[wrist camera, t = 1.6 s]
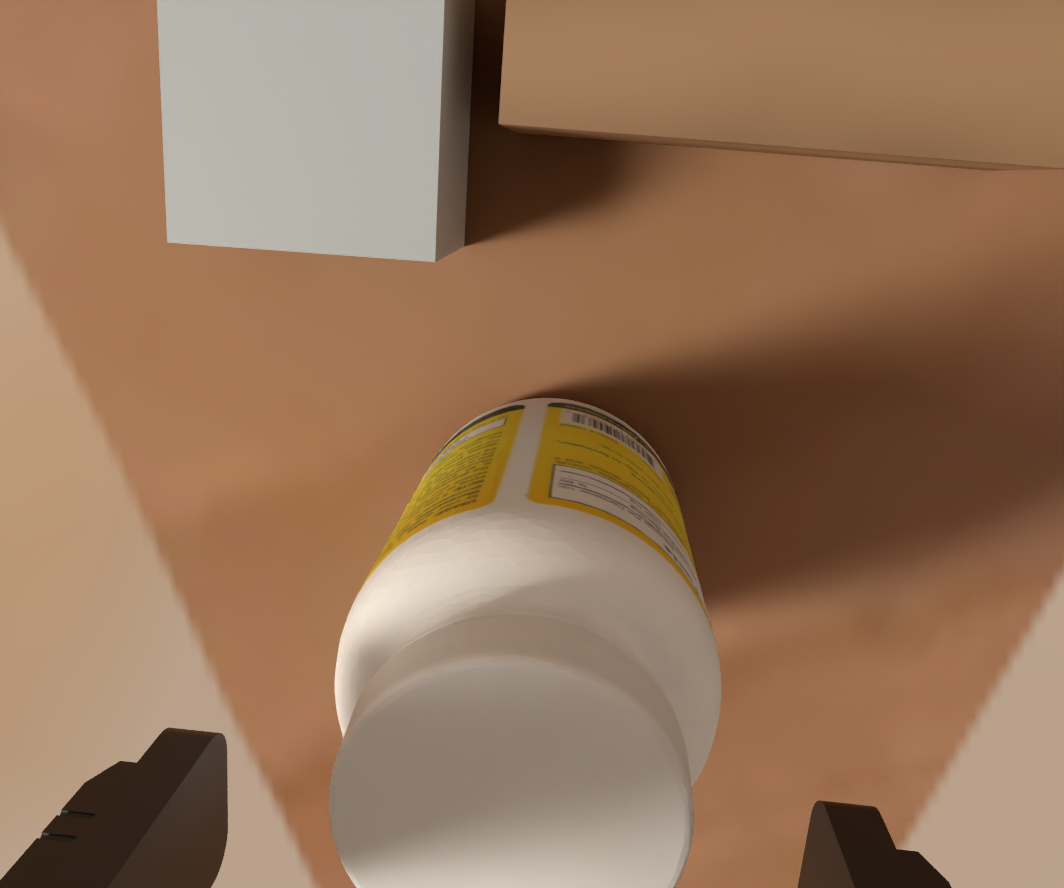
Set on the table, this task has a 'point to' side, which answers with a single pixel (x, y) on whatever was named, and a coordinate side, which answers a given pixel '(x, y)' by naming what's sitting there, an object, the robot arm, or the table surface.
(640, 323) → the table surface
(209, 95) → the slate block
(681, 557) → the pill bottle
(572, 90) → the walnut block
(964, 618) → the table surface
